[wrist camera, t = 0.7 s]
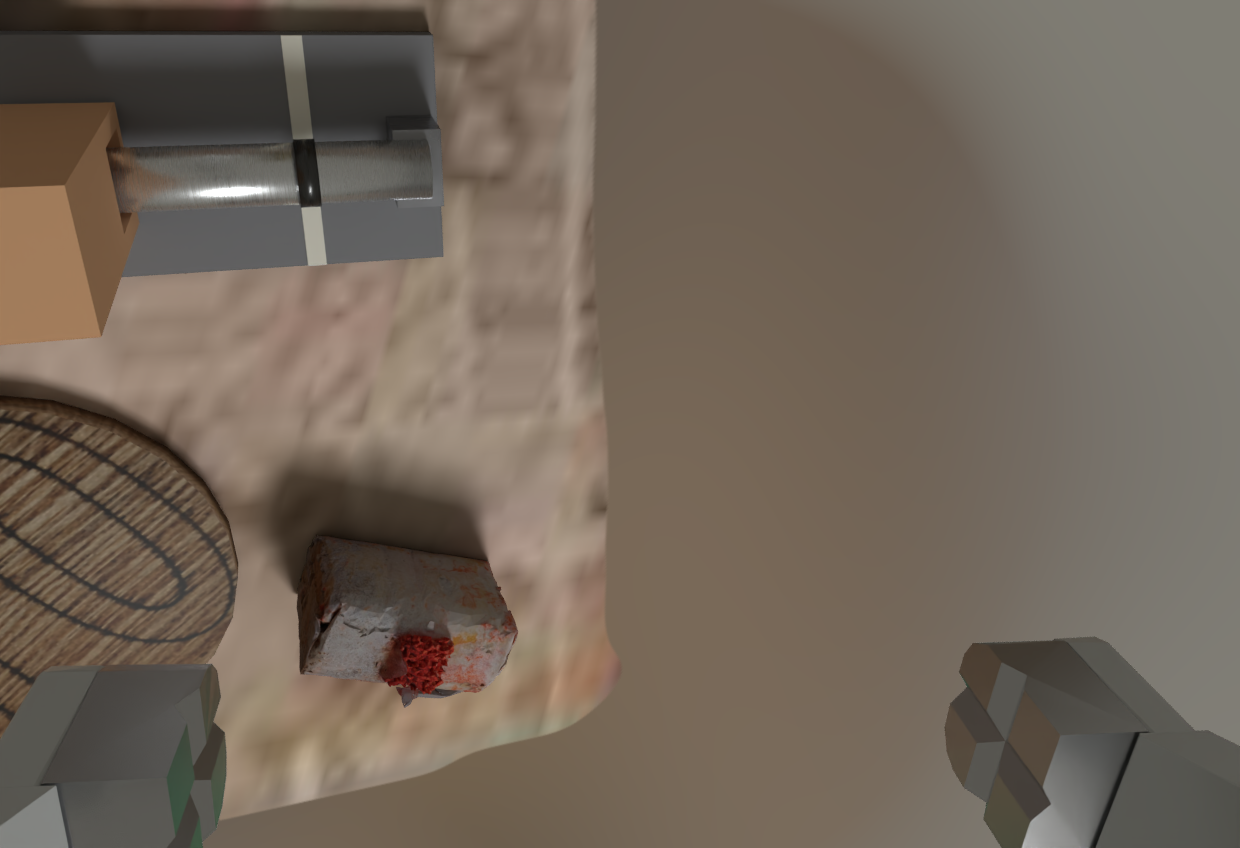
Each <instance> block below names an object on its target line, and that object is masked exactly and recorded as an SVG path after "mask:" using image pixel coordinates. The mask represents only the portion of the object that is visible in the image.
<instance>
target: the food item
mask: <svg viewBox="0 0 1240 848" xmlns="http://www.w3.org/2000/svg"><path fill="white" fill-rule="evenodd" d="M500 590H501V587H498V586H497V582H496V581H495V579H494V577H493V573H492V571H491V568H490V564H489V562H487V561H484V560H476V559H469V558H463V557H457V556H453V555H445V554H434V553H429V552H425V551H419V550H412V549H405V548H400V547H394V546H387V545H381V544H375V543H369V542H360V541H354V540H348V539H345V540H344V539H339V538H335V537H328V536H317V534H316V537H315V538H314V540H313V542H312V545H311V547H309V548H308V552H307V558H306V564H305V567H304V570H303V573H302V576H301V579H300V583H299V586H298V599H297V612H298V619H299V640H300V673H301V674H311V675H321V676H330V677H335V678H340V679H346V680H359V681H366V682H377V683H388V685H389V686H390V687H391V685H393V686H395V685H402V686H403V687H404V688H400V687H396V689H397V691H398V693H399V695H401V696H402V703H403V705H404V704H405V703H406V704H405V705H404V708H405V707H407V706H408V705H410V704H411V702H412V700H413V699H415V698H417V697H425V698H444V697H447V696H451V695H454V694H457V693H460V692H463V691H464V692H475V693H476V692H480V691H482V690H483V689H484V688H486V687H487V686H488V685H490V684H491V683H492V682H493V680H494V679H495V677H496V676H498V675H499V674H500V672H501V671H502V669H503V668H504V666H505V665H506V663H507V659H508V655H509V653H510V651H511V649H512V647H513V645H514V644H515V641H516V638H517V635H518V630H517V627H516V623H515V620H514V618H513V616H512V614H511V611H510V610H509V611H508V610H507V605H506V603H505V600H504V598H503V597H502V595H501V593H500ZM406 685H407V686H408V687H406ZM419 690H420V691H419Z"/></svg>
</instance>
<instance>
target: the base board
mask: <svg viewBox="0 0 1240 848" xmlns="http://www.w3.org/2000/svg"><path fill="white" fill-rule="evenodd" d="M105 102H115V107H116V112H117V117H118V121H119V126H120V131H121V136H122V141H123V146H124V147H151V146H186V145H221V144H256V143H291V142H293V139H314V141H315V142H326V141H361V140H387V130H386V116H403V115H431V116H432V117H433V119H434V120H435V122H436V123H437V110H436V89H435V68H434V47H433V35H432V34H431V33H430V32H251V31H0V104H44V103H105ZM137 214H138V218H139V226H138V229H137V232H136V235H135V238H134V241H133V244H132V247H131V249H130V252H129V255H128V258H127V261H126V264H125V267H124V270H123V273H122V276H121V277H132V276H147V275H163V274H179V273H195V272H210V271H226V270H242V269H258V268H273V267H289V266H305V265H308V266H317V265H327V264H336V263H352V262H368V261H383V260H399V259H415V258H431V257H443V237H442V216H441V206H436V207H415V208H398V207H397V205H396V202H395V200H390V201H368V202H347V203H325V204H322V207H305V208H301V205H282V206H260V207H239V208H217V209H196V210H174V211H152V212H137Z"/></svg>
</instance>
